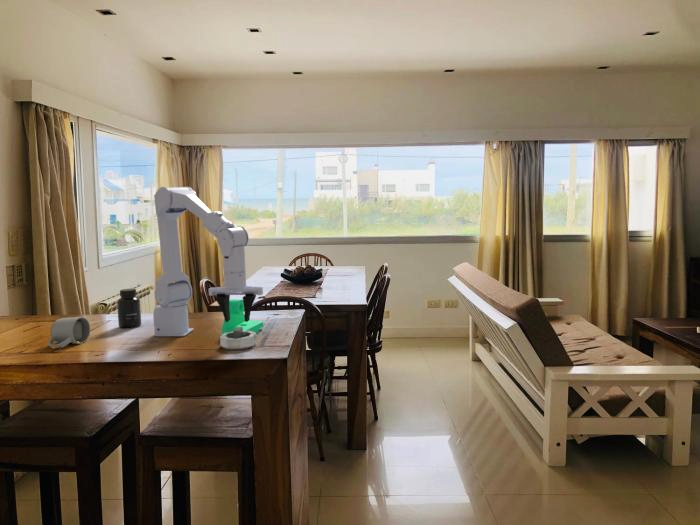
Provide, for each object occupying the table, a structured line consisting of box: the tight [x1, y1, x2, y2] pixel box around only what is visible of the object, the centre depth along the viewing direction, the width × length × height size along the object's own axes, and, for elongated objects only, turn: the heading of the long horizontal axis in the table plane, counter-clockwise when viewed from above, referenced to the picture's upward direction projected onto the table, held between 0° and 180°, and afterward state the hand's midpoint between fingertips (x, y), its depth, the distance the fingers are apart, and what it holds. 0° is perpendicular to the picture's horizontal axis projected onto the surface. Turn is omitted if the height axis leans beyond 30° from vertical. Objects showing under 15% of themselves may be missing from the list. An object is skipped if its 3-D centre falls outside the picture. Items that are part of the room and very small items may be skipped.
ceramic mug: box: [48, 316, 91, 349], centre depth 156 cm, size 11×8×8 cm
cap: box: [233, 327, 243, 338], centre depth 150 cm, size 5×5×4 cm
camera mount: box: [221, 298, 264, 335], centre depth 163 cm, size 12×8×10 cm, turn 162°
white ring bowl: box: [219, 331, 257, 351], centre depth 150 cm, size 9×9×3 cm
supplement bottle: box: [116, 288, 142, 330], centre depth 175 cm, size 7×7×12 cm
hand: (237, 320), depth 150 cm, fingers open, 5 cm apart
